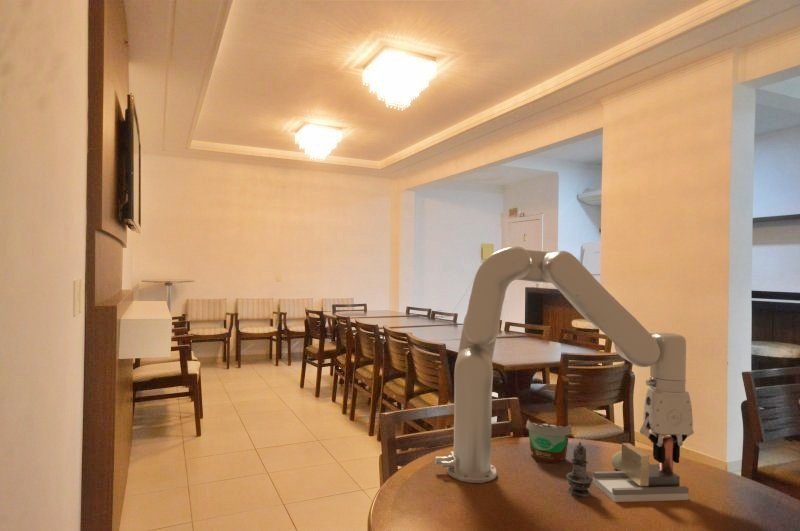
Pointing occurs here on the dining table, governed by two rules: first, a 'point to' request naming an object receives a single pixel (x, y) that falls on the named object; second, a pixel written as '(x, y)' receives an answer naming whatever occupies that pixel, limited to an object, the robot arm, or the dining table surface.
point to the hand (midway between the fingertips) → (666, 460)
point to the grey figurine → (579, 474)
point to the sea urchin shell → (617, 460)
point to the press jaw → (650, 466)
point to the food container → (548, 442)
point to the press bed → (635, 488)
